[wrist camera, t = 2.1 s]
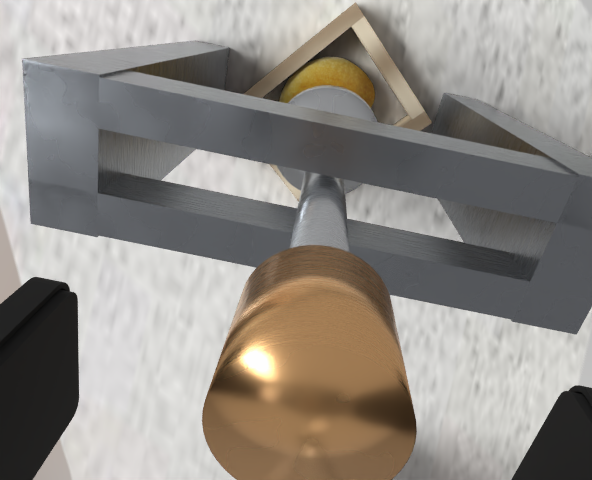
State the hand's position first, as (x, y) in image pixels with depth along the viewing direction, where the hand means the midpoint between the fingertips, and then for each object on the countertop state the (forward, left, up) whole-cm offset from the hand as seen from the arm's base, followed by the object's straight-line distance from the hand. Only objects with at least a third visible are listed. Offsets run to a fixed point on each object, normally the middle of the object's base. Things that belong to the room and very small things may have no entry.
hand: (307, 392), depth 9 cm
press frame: (0, 0, -37) cm, 37 cm away
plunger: (0, 0, -24) cm, 25 cm away
